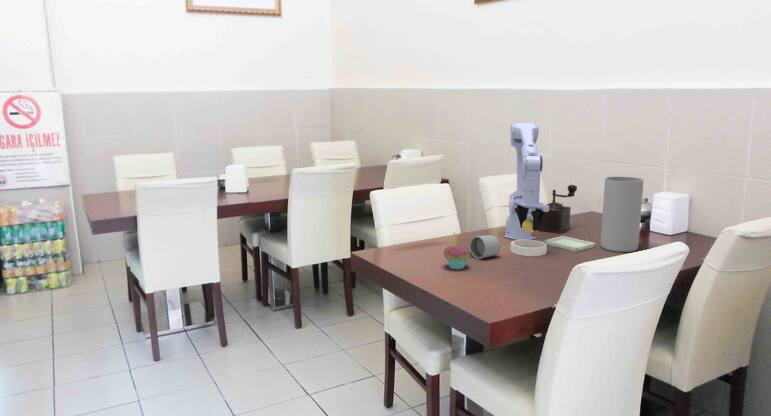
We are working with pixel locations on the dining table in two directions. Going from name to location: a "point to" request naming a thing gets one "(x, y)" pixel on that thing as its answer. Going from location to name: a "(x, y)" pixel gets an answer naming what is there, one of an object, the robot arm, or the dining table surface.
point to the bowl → (528, 247)
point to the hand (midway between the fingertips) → (529, 228)
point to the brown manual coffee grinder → (557, 214)
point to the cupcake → (456, 255)
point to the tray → (569, 243)
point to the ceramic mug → (484, 246)
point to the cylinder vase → (621, 213)
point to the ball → (528, 225)
